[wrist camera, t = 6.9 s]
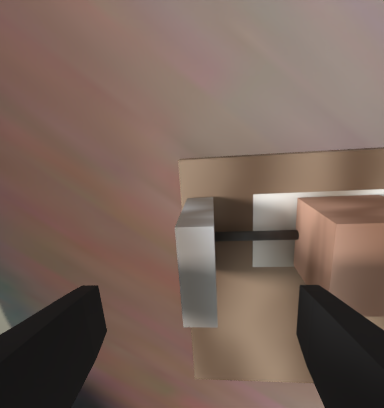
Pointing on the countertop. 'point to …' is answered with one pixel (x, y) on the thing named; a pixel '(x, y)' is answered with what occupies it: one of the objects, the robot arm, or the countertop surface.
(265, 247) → the lane rack
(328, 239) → the tethered block
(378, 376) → the robot arm
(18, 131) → the countertop surface
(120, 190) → the countertop surface
